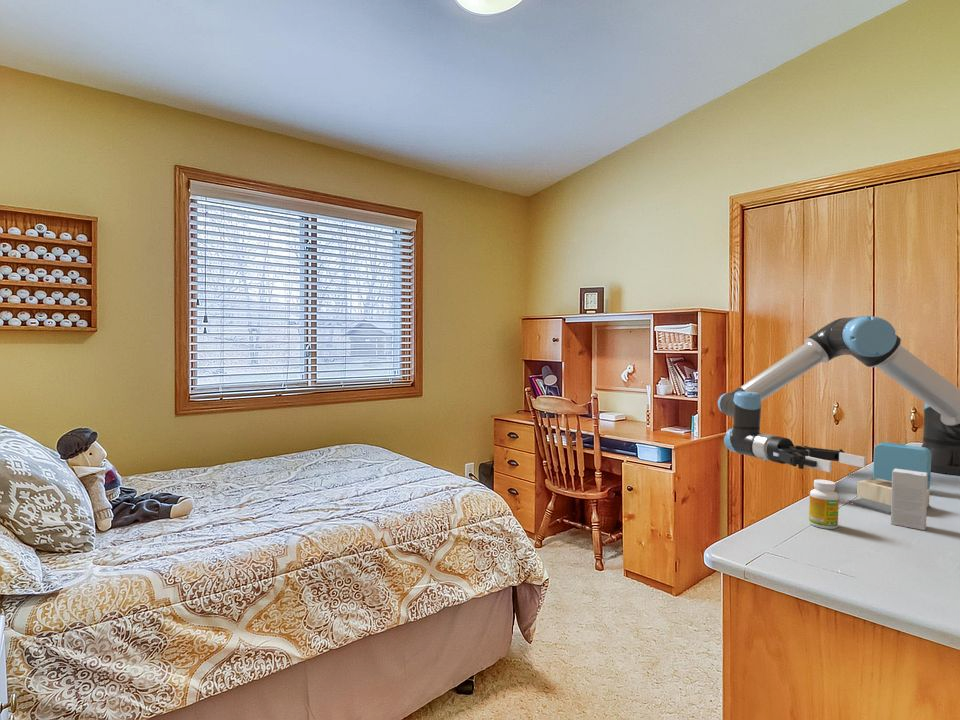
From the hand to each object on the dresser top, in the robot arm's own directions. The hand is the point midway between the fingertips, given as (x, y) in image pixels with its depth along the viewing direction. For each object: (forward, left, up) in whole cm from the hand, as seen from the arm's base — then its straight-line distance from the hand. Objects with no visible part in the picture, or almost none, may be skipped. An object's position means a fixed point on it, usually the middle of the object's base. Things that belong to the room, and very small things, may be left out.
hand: (848, 464), depth 138 cm
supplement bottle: (+25, +11, -9) cm, 29 cm away
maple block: (-7, +1, -6) cm, 10 cm away
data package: (-25, -1, -9) cm, 27 cm away
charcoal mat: (-5, +7, -9) cm, 12 cm away
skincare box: (+7, +18, -9) cm, 21 cm away
